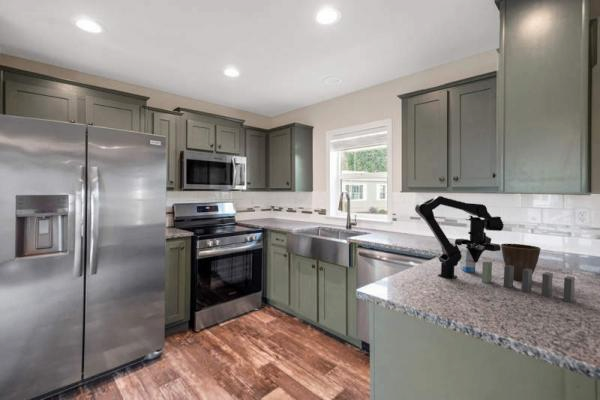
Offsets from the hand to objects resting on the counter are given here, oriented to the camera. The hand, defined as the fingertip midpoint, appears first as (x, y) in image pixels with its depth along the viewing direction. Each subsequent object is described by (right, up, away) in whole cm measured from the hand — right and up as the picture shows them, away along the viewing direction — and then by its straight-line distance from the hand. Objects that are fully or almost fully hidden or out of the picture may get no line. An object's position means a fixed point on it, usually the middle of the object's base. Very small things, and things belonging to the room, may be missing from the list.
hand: (475, 262), depth 136 cm
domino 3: (+14, -8, -23) cm, 28 cm away
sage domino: (+2, -8, -5) cm, 9 cm away
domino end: (+18, -9, -28) cm, 34 cm away
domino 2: (+11, -8, -17) cm, 22 cm away
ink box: (+4, -8, +14) cm, 16 cm away
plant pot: (+21, -8, 0) cm, 22 cm away
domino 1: (+7, -8, -12) cm, 16 cm away
